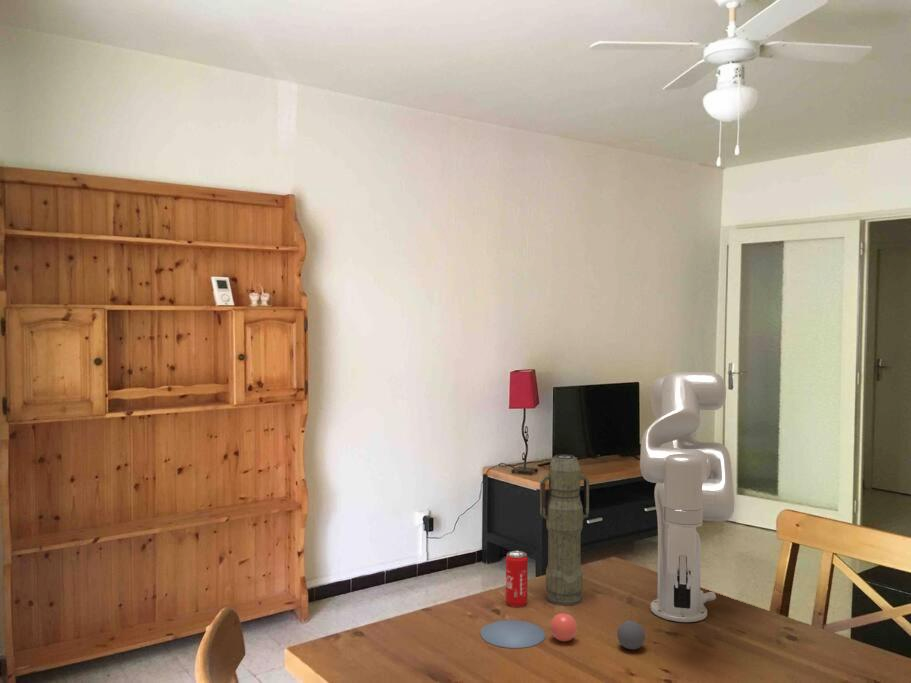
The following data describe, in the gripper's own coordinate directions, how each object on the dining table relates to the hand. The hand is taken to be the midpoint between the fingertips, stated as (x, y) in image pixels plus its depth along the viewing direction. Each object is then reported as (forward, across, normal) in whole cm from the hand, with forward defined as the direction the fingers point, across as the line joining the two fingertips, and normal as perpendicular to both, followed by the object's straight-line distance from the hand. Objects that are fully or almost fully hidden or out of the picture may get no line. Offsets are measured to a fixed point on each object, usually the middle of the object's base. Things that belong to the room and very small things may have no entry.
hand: (682, 606), depth 149 cm
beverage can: (+10, -18, -38) cm, 43 cm away
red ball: (+7, -1, -24) cm, 25 cm away
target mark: (+10, -1, -35) cm, 36 cm away
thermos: (+10, -25, -27) cm, 38 cm away
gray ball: (+7, -1, -10) cm, 12 cm away
